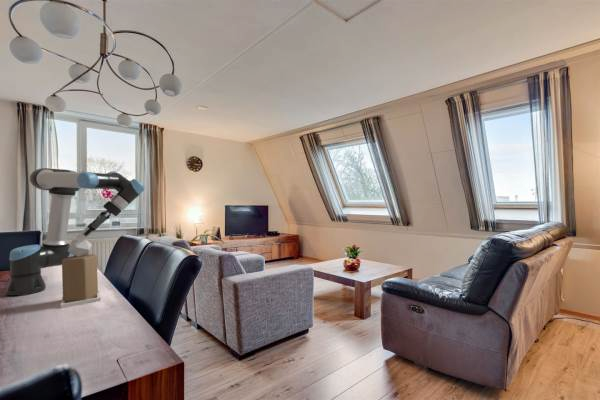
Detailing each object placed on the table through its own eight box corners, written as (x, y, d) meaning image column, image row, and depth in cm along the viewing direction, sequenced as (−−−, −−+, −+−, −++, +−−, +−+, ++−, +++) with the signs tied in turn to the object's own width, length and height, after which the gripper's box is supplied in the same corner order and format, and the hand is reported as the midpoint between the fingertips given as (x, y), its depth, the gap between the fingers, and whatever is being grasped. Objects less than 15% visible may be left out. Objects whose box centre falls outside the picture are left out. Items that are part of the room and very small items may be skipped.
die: (94, 257, 139) (97, 239, 144) (76, 250, 132) (80, 231, 137) (79, 263, 140) (83, 245, 145) (61, 257, 133) (66, 238, 138)
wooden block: (76, 297, 142) (75, 254, 143) (99, 295, 143) (97, 253, 143) (62, 304, 133) (60, 258, 133) (86, 302, 133) (84, 257, 133)
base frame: (62, 300, 140) (62, 296, 140) (99, 293, 148) (99, 290, 148) (60, 308, 128) (60, 304, 128) (100, 300, 136) (100, 297, 136)
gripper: (107, 200, 155) (72, 232, 146) (111, 199, 135) (70, 236, 126) (119, 210, 158) (85, 242, 150) (125, 211, 138) (85, 247, 129)
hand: (78, 239), depth 138 cm, fingers open, 13 cm apart
